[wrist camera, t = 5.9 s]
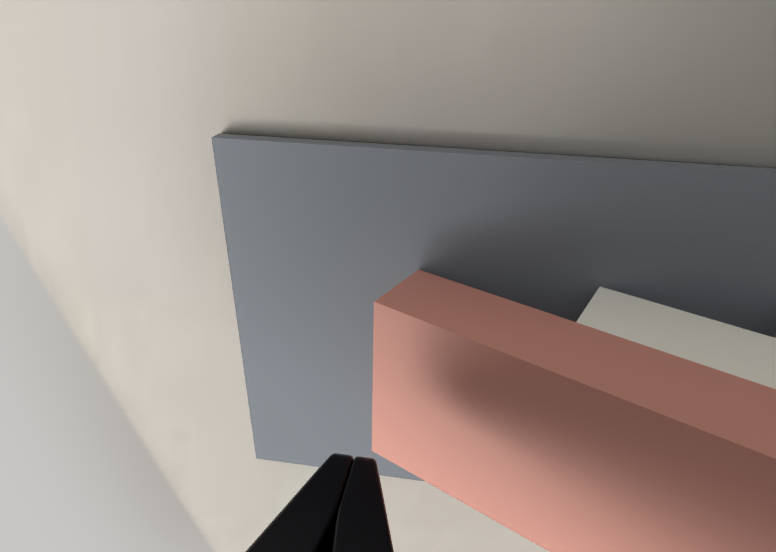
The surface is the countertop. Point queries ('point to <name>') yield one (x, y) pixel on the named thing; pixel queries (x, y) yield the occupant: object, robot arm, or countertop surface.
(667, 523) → the domino
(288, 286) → the slate mat
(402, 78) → the countertop surface
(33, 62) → the countertop surface
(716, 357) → the domino
